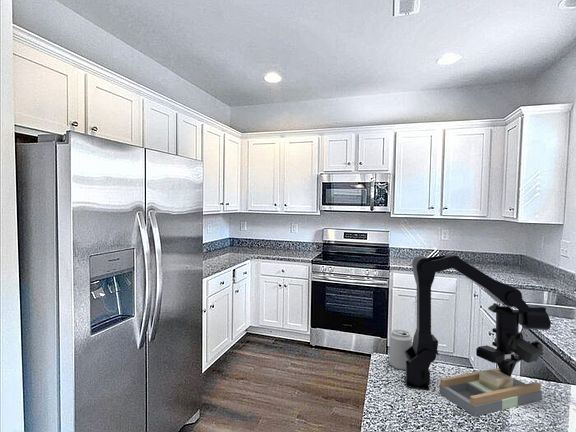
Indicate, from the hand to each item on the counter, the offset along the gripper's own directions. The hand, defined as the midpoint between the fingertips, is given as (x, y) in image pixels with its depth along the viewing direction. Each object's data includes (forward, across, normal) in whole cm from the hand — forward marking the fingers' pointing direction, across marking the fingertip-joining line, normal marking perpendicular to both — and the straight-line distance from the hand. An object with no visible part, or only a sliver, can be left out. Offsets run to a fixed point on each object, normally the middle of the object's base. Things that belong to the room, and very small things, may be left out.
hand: (506, 379), depth 98 cm
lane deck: (+4, -7, 0) cm, 8 cm away
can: (+4, -19, +25) cm, 31 cm away
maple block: (+1, -4, 0) cm, 5 cm away
